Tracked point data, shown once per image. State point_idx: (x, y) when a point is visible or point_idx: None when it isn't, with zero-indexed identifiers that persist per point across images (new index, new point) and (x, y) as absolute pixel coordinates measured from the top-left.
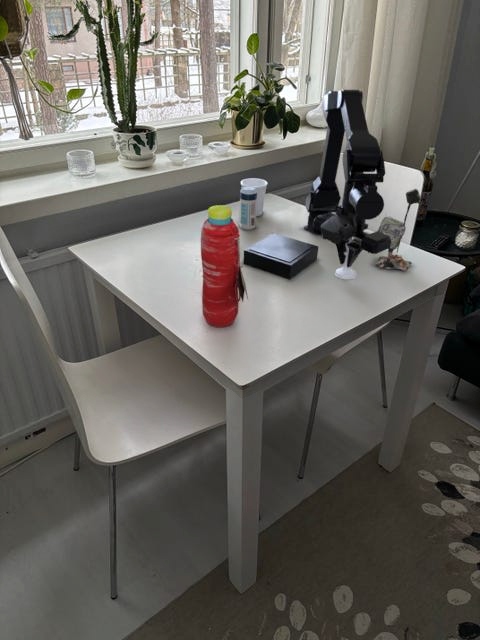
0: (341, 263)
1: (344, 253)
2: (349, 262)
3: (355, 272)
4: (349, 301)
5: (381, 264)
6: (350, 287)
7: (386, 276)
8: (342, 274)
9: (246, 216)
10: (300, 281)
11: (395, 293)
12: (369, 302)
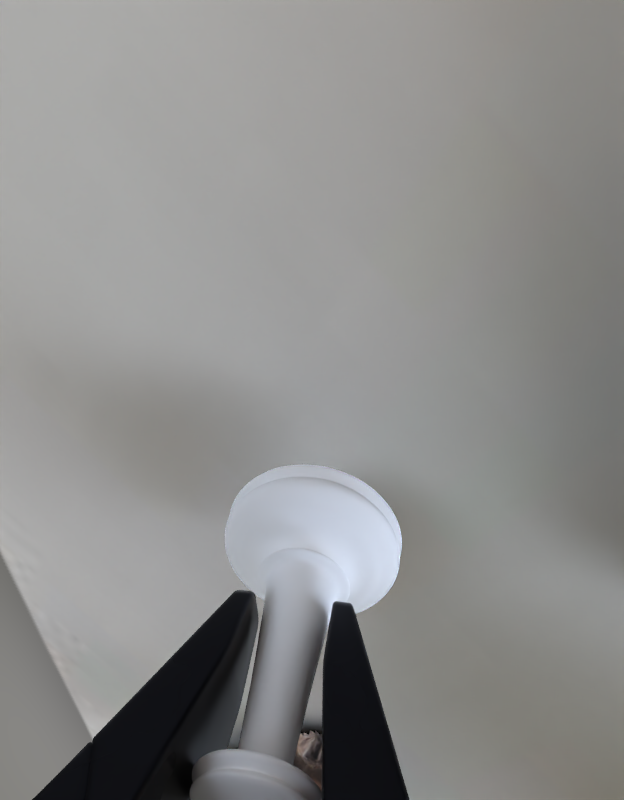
0: (332, 609)
1: (289, 783)
2: (184, 648)
3: (259, 596)
4: (73, 298)
5: (309, 753)
6: (231, 461)
7: None
8: (279, 501)
9: None
10: (612, 180)
11: (63, 577)
12: (20, 400)
